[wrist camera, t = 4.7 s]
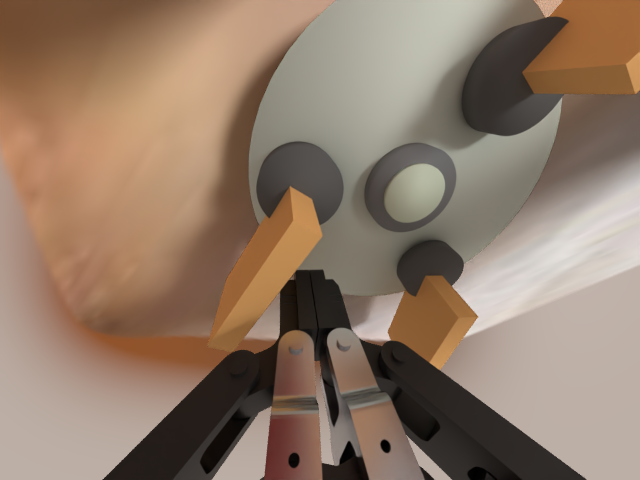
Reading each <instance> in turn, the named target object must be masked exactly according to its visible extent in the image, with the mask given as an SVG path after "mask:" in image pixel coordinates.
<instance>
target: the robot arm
mask: <svg viewBox="0 0 640 480" xmlns="http://www.w3.org/2000/svg"><path fill="white" fill-rule="evenodd" d="M314 361H320V366H321V373H320V382H321V386H322V391H323V396H324V401H325V406H326V411H327V416H328V421H329V426H330V433H331V449H332V455H333V460H334V465H329V464H324V463H322V461H321V442H320V423H319V408H318V403H317V400H316V386H315V362H314ZM270 406H272V408H271V416H270V426H269V436H268V446H267V456H266V467H265V476H264V477H263V478H261V479H260V480H434V479H433V478H432V477H431V476H430V475H429V474H428V473H427V472H426V471H425V470H424V469H423V468H422V467H420V466H419V465H418V462H417V460H416V458H415V455H414V453H413V450H412V448H411V446H410V443H409V441H408V438H407V436H408V437H409V438H410V439H411V440H412V441H413V442H414V443H415V444H416V445H417V446H418V447H419V448H420V449H421V450H422V451H423V452H424V453H425V454H426V455H427V456H429V457H430V458H431V459H432V460H433V461H434V462H435V463H436V464H437V465H438V466H439V467H440V468H441V469H442V470H443V471H444V472H445V473H446V474H447V475H448V476H449V477H450V478H451V479H452V480H586V479H585V478H584V477H582V476H581V475H580V474H578V473H577V472H576V471H574V470H573V469H571V468H570V467H569V466H568V465H566V464H565V463H564V462H562V461H561V460H560V459H558V458H557V457H556V456H554V455H553V454H552V453H550V452H549V451H547V450H546V449H545V448H543V447H542V446H541V445H539V444H538V443H537V442H535V441H534V440H533V439H531V438H530V437H529V436H527V435H526V434H525V433H523V432H522V431H521V430H519V429H518V428H517V427H515V426H514V425H512V424H511V423H510V422H509V421H507V420H506V419H505V418H503V417H502V416H500V415H499V414H498V413H496V412H495V411H494V410H492V409H491V408H490V407H488V406H487V405H486V404H484V403H483V402H482V401H480V400H479V399H478V398H476V397H475V396H474V395H472V394H471V393H470V392H468V391H467V390H465V389H464V388H463V387H462V386H460V385H459V384H458V383H456V382H455V381H453V380H452V379H451V378H449V377H448V376H447V375H445V374H444V373H443V372H441V371H440V370H439V369H437V368H436V367H435V366H433V365H432V364H431V363H429V362H428V361H427V360H425V359H424V358H423V357H421V356H420V355H419V354H417V353H416V352H415V351H413V350H412V349H411V348H409V347H408V346H406V345H405V344H403V343H401V342H399V341H388V342H386V343H385V344H384V345H383V346H379V345H375V344H371V343H368V342H365V341H363V340H361V339H360V338H358V336H357V335H356V334H355V333H354V332H353V331H352V329H351V326H350V322H349V319H348V315H347V312H346V309H345V305H344V302H343V298H342V296H341V291H340V288H339V286H338V284H337V283H336V282H335V281H334V280H333V279H325V274H324V270H323V269H319V270H296V271H295V272H294V280H288V281H287V283H286V284H285V285H284V287H283V288H282V289H281V291H280V335H279V338H278V340H277V341H276V342H275V344H274V345H273V346H271V347H270V348H268V349H266V350H264V351H262V352H259V353H256V354H254V353H252V352H250V351H247V350H239V351H235V352H233V353H231V354H229V355H228V356H227V357H225V358H224V359H223V360H222V361H221V362H220V363H219V364H218V365H217V366H216V367H215V368H214V369H213V370H212V371H211V372H210V373H209V374H208V375H207V376H206V377H205V378H204V379H203V380H202V381H201V382H200V383H199V384H198V385H197V386H196V387H195V388H194V389H193V390H192V391H191V392H190V393H189V394H188V395H187V396H186V397H185V398H184V399H183V400H182V401H181V402H180V403H179V404H178V405H177V406H176V407H175V408H174V409H173V410H172V411H171V412H170V413H169V414H168V415H167V416H166V417H165V418H164V419H163V420H162V421H161V422H160V423H159V424H158V425H157V426H156V427H155V428H154V429H153V430H152V431H151V432H150V433H149V434H148V435H147V436H146V437H145V438H144V439H143V440H142V441H141V442H140V443H139V444H138V445H137V446H136V447H135V448H134V449H133V450H132V451H131V452H130V453H129V454H128V455H127V456H126V457H125V458H124V459H123V460H122V461H121V462H120V463H119V464H118V465H117V466H116V467H115V468H114V469H113V470H112V471H111V472H110V473H109V474H108V475H107V476H106V477H105V478H104V479H103V480H212V478H213V477H214V476H215V474H216V473H217V471H218V470H219V468H220V467H221V466H222V464H223V463H224V461H225V460H226V459H227V457H228V456H229V454H230V453H231V451H232V450H233V449H234V447H235V446H236V444H237V443H238V442H239V440H240V439H241V437H242V436H243V434H244V433H245V431H246V430H247V429H248V427H249V426H250V425H251V423H252V421H253V420H254V419H255V417H256V416H257V415H258V413H259V412H260V411H263V410H264V409H266V408H268V407H270ZM406 435H407V436H406Z"/></svg>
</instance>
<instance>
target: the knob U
mask: <svg viewBox="0 0 640 480" xmlns="http://www.w3.org/2000/svg"><path fill="white" fill-rule="evenodd" d="M639 91H640V0H563V2H562V3H561V4H560V5H559V6H558V7H557V8H556V9H555V11H554V12H553V13H552V14H551V15H550V16H549V17H546V18H542V19H539V20H535V21H532V22H528V23H524V24H521V25H517V26H514V27H511V28H509V29H507V30H505V31H503V32H502V33H500V34H499V35H497V36H496V37H495V38H493V39H492V40H491V41H490V42H489V43H488V44H487V45H486V46H485V47H484V49H483V50H482V51H481V52H480V54H479V55H478V56H477V58H476V59H475V61H474V63H473V64H472V66H471V68H470V70H469V72H468V75H467V77H466V80H465V83H464V87H463V92H462V112H463V116H464V118H465V120H466V122H467V123H468V125H469V126H470V127H471V128H473V129H474V130H477V131H479V132H484V133H489V134H494V135H499V136H513V135H517V134H520V133H522V132H524V131H526V130H528V129H530V128H532V127H533V126H535V125H536V124H537V123H539V122H540V121H541V120H542V119H544V118H545V117H546V116H547V115H548V114H549V113H550V112H551V111H552V110H553V108H554V107H555V106H556V105H557V104H558V102H559V101H560V99H561V98H562V97H563V95H564V94H636V93H637V92H639Z"/></svg>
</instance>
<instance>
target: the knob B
mask: <svg viewBox="0 0 640 480" xmlns="http://www.w3.org/2000/svg"><path fill="white" fill-rule="evenodd" d="M463 267H464V262H463V259H462V257H461V256H460V255H459V254H458V253H457V252H456V251H455V250H454V249H452V248H451V247H450V246H449V245H448V244H447V243H445V242H443V241H440V240H428V241H424V242H421V243H419V244H417V245H415V246H413V247H412V248H410V249H409V250H408V251H407V252H406V253H405V254H404V255H403V256H402V257H401V259H400V260H399V262H398V265H397V270H396V271H397V276H398V278H399V280H400V281H401V283H402V285H403V286H404V288H405V289H406V290H405V292H404V295H403V297H402V299H401V302H400V304H399V307H398V309H397V311H396V314H395V316H394V318H393V321H392V323H391V325H390V328H389V330H388V334H389V337H390V339H391V341H399V342H401V343H403V344H405V345H406V346H408V347H409V348H411V349H412V350H413V351H415V352H416V353H417V354H419V355H420V356H421V357H423V358H424V359H425V360H427V361H428V362H429V363H431V364H432V365H433V366H435V367H436V368H437V369H439V370H440V369H441V368H442V367H443V365H444V364H445V362H446V361H447V360H448V358H449V357H450V355H451V354H452V353H453V351H454V350H455V348H456V347H457V346H458V344H459V343H460V341H461V340H462V339H463V337H464V336H465V334H466V333H467V332H468V330H469V329H470V327H471V326H472V325H473V323H474V322H475V320H476V319H477V318H478V316H477V315H476V314H475V312H474V311H473V310H472V309H471V308H470V307H469V306H468V304H467V303H466V302H465V301H464V300H463V299H462V298H461V296H460V295H459V294H458V293H457V292H456V291H455V290H454V289H453V287H452V285H453V284H454V283H455V282H456V281H457V280H458V278H459V277H460V275H461V273H462V271H463Z"/></svg>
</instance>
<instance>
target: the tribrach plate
mask: <svg viewBox="0 0 640 480" xmlns="http://www.w3.org/2000/svg"><path fill="white" fill-rule="evenodd" d="M542 18H545V17H544V15H543V13H542V11H541V10H540V8H539V6H538V5H537V4H536V3H535V2H534V1H533V0H336V1H335V2H333V3H332V4H331V5H330V6H329V7H328V8H327V9H325V10H324V11H323V12H322V13H321V14H320V15H319V16H318V17H317V18H316V19H315V20H314V21H313V22H312V23H310V24H309V25H308V26H307V28H306V29H305V30H304V31H303V33H302V34H301V35H300V36H299V38H298V39H297V40H296V41H295V43H294V44H293V45H292V46H291V48H290V49H289V50H288V51H287V53H286V55H285V56H284V58H283V60H282V61H281V63H280V65H279V66H278V68H277V70H276V71H275V73H274V75H273V76H272V78H271V80H270V83H269V85H268V87H267V89H266V92H265V94H264V96H263V99H262V101H261V103H260V106H259V109H258V113H257V116H256V120H255V123H254V127H253V130H252V137H251V144H250V150H249V175H248V179H249V187H250V195H251V201H252V205H253V209H254V212H255V216H256V219H257V222H258V224H259V226H260V224H261V222H262V221H263V219H264V217H265V216H266V214H265V213H264V212H263V210H262V209H261V207H260V204H259V202H258V199H257V193H256V185H257V179H258V175H259V171H260V168H261V165H262V163H263V161H264V160H265V158H266V157H267V156H268V154H269V153H270V152H272V151H273V150H274V149H275V148H277V147H278V146H280V145H283V144H285V143H289V142H295V141H302V142H308V143H311V144H314V145H316V146H318V147H320V148H321V149H323V150H324V151H325V152H326V153H327V154H328V155H329V156H330V157H331V158H332V160H333V161H334V162H335V164H336V165H337V167H338V168H339V170H340V172H341V175H342V178H343V185H344V191H343V198H342V201H341V204H340V206H339V208H338V210H337V211H336V213H335V214H334V215H333V216H332V217H331V218H330V219H329V220H328V221H326V222H325V223H324V224H322V225H320V228H321V232H322V235H323V236H322V237H321V239H320V240H319V241H318V243H317V244H316V245H315V247H314V248H313V249H312V250H311V252H310V253H309V254H308V256H307V257H306V258H305V259H304V261H303V262H302V263H301V265H300V266H299V267H298V269H297V270H319V269H323V270H324V274H325V279H333V280H334V281H335V282H336V283H337V284H338V286H339V288H340V291H341V294H347V295H356V296H377V295H387V294H393V293H399V292H403V291H405V290H406V289H405V288H404V286H403V285H402V283H401V281H400V280H399V278H398V276H397V271H396V270H397V265H398V262H399V260H400V259H401V257H402V256H403V255H404V254H405V253H406V252H407V251H408V250H409V249H410V248H412V247H413V246H415V245H417V244H419V243H421V242H424V241H428V240H440V241H443V242H445V243H447V244H448V245H449V246H450V247H451V248H452V249H454V250H455V251H456V252H457V253H458V254H459V255H460V256H461V257H462V259H463V262H464V263H466V262H467V261H469V260H470V259H471V258H473V257H474V256H475V255H477V254H478V253H479V252H480V251H482V250H483V249H484V248H485V247H486V246H487V245H488V244H489V243H491V242H492V241H493V240H494V239H495V238H496V237H497V236H498V235H499V234H500V233H501V232H502V230H503V229H504V228H505V227H506V226H507V225H508V224H509V223H510V221H511V220H512V219H513V218H514V217H515V215H516V214H517V213H518V212H519V210H520V209H521V207H522V206H523V204H524V203H525V201H526V200H527V199H528V197H529V196H530V194H531V192H532V190H533V189H534V187H535V185H536V183H537V182H538V180H539V178H540V176H541V174H542V171H543V169H544V167H545V165H546V163H547V161H548V158H549V155H550V152H551V149H552V146H553V144H554V141H555V137H556V133H557V129H558V124H559V120H560V113H561V104H562V98H561V99H560V101H559V102H558V104H557V105H556V106H555V107H554V108H553V110H552V111H551V112H550V113H549V114H548V115H547V116H546V117H545V118H544V119H542V120H541V121H540V122H539V123H537V124H536V125H535V126H533V127H532V128H530V129H528V130H526V131H524V132H522V133H520V134H517V135H513V136H499V135H494V134H489V133H484V132H479V131H477V130H474V129H473V128H471V127H470V126H469V125H468V123H467V122H466V120H465V118H464V116H463V112H462V92H463V87H464V83H465V80H466V77H467V75H468V72H469V70H470V68H471V66H472V64H473V63H474V61H475V59H476V58H477V56H478V55H479V54H480V52H481V51H482V50H483V49H484V47H485V46H486V45H487V44H488V43H489V42H490V41H491V40H492V39H493V38H495V37H496V36H497V35H499V34H500V33H502V32H503V31H505V30H507V29H509V28H511V27H514V26H517V25H521V24H524V23H528V22H532V21H535V20H539V19H542Z"/></svg>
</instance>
